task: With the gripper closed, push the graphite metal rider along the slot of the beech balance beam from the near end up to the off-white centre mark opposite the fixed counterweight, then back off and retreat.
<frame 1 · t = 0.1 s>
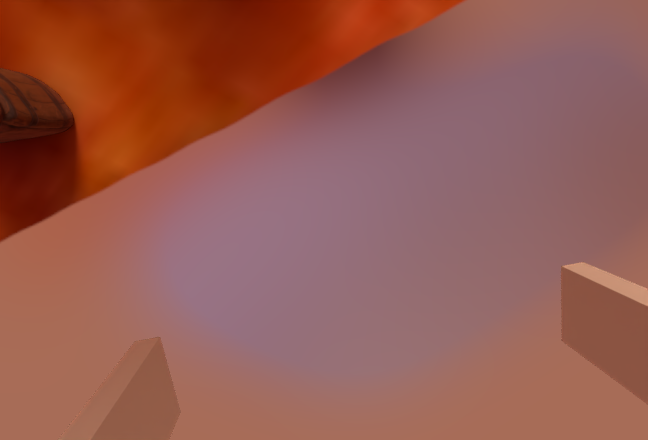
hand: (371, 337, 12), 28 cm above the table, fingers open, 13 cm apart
wooden figurine: (12, 111, 35), on the table
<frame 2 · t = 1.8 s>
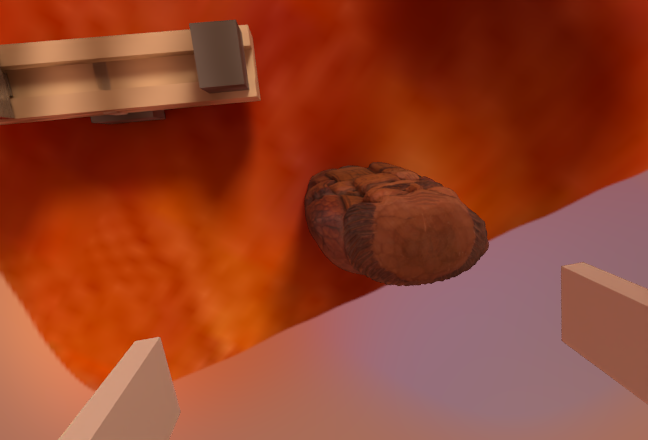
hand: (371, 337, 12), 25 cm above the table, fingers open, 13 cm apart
wooden figurine: (361, 194, 37), on the table
beam: (130, 87, 33), on the table
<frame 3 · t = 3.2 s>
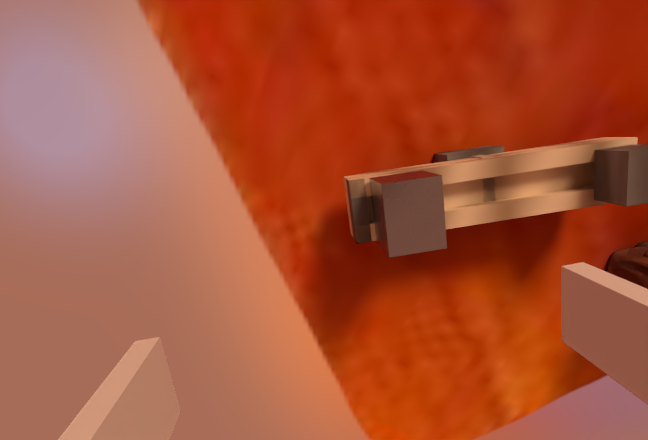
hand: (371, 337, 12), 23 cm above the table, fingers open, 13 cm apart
rider: (403, 209, 27), point 8 cm above the table, slide at -8.0 cm
beam: (462, 181, 35), on the table
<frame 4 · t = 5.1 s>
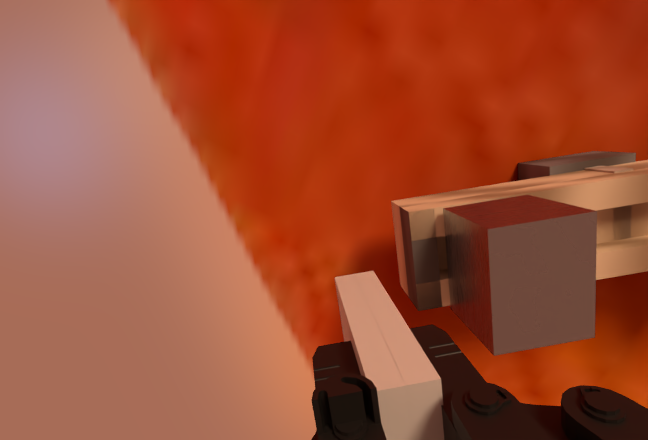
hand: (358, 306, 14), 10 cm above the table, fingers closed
rider: (504, 262, 16), point 8 cm above the table, slide at -8.0 cm
beam: (556, 203, 24), on the table
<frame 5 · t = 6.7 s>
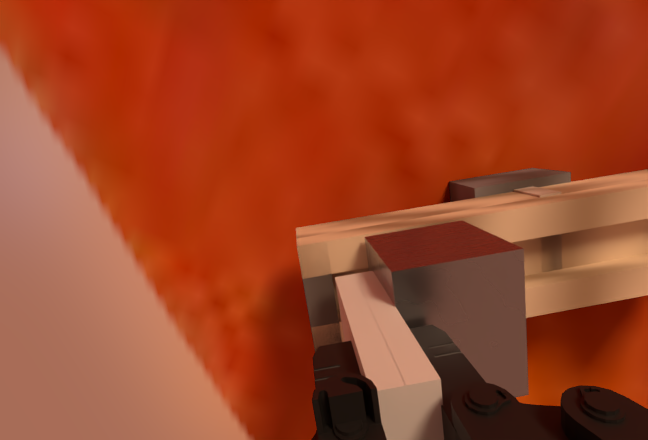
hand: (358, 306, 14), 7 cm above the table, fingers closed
rider: (432, 301, 14), point 8 cm above the table, slide at -6.8 cm, touching gripper
beam: (493, 224, 22), on the table
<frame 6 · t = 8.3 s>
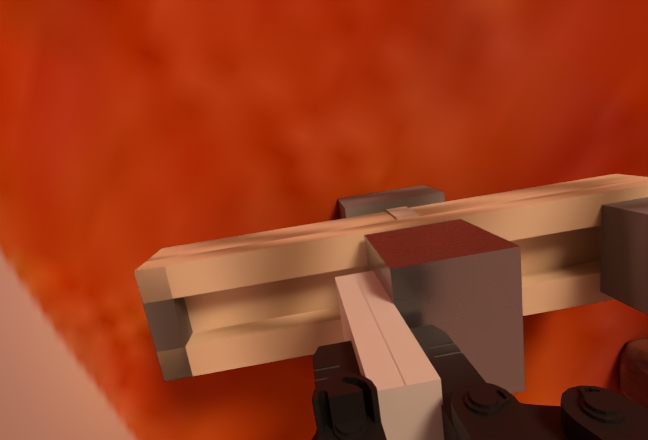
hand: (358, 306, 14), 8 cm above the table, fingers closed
rider: (430, 298, 14), point 8 cm above the table, slide at -0.3 cm, touching gripper
beam: (386, 241, 22), on the table
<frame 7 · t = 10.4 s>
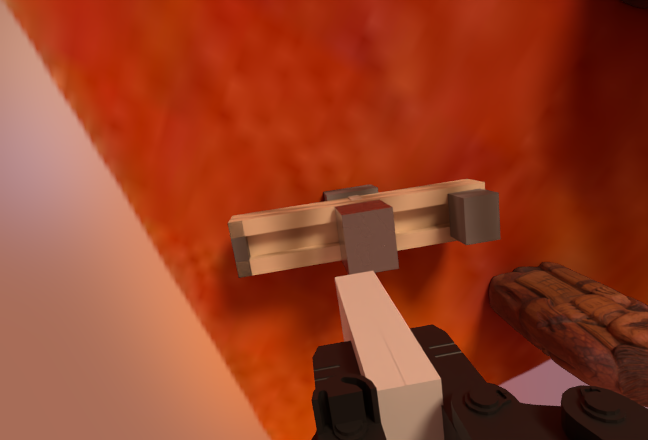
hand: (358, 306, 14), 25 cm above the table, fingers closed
wooden figurine: (530, 288, 43), on the table
rider: (363, 234, 31), point 8 cm above the table, slide at -0.3 cm
beam: (350, 216, 39), on the table
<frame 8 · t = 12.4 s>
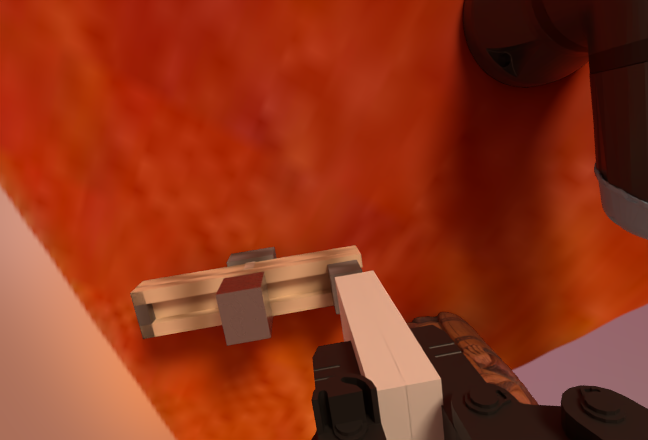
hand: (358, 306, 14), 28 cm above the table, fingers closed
wooden figurine: (430, 335, 47), on the table
rider: (247, 304, 35), point 8 cm above the table, slide at -0.3 cm
beam: (257, 274, 43), on the table
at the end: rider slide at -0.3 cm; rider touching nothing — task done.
